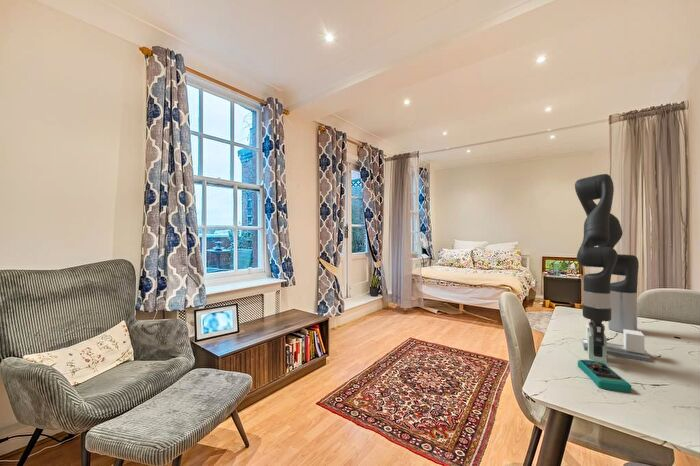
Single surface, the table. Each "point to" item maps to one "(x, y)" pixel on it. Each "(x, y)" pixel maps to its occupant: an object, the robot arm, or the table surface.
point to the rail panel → (623, 353)
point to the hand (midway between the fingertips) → (596, 352)
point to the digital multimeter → (604, 376)
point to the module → (591, 349)
